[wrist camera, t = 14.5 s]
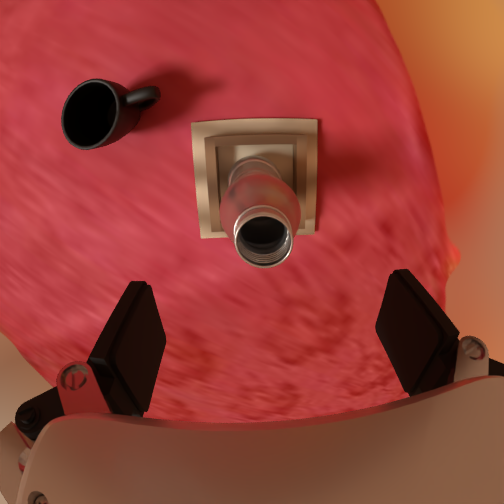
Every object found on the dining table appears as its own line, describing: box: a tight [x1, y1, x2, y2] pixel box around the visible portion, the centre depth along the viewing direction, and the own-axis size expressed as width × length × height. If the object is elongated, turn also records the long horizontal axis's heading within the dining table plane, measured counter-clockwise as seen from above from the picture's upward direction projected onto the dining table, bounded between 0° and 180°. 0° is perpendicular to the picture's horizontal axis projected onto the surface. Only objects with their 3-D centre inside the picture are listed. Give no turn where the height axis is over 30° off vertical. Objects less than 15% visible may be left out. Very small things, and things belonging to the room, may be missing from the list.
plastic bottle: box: [219, 155, 301, 268], centre depth 25 cm, size 6×7×20 cm
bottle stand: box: [191, 118, 317, 238], centre depth 34 cm, size 16×16×4 cm
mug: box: [61, 79, 161, 150], centre depth 26 cm, size 8×12×10 cm
